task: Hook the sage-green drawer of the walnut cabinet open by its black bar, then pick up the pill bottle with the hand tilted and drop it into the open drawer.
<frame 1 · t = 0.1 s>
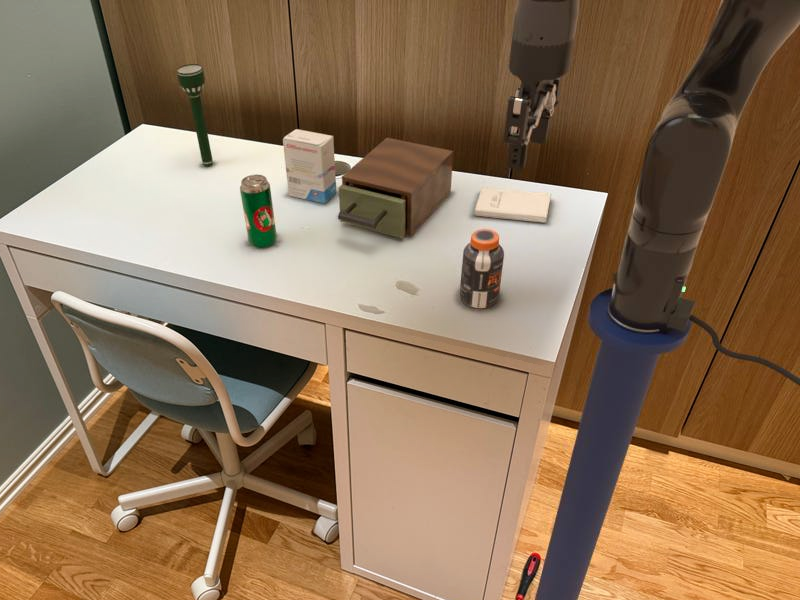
hand: (527, 154, 99), 21 cm above the table, tool pointing down, fingers open, 8 cm apart
soda can: (263, 242, 127), on the table
flashlight: (208, 165, 150), on the table
cabinet: (398, 206, 132), on the table
hard drive: (512, 209, 129), on the table
drawer: (384, 198, 126), point 4 cm above the table, slide at 1.0 cm
ink box: (312, 195, 138), on the table
pill bottle: (478, 298, 111), on the table
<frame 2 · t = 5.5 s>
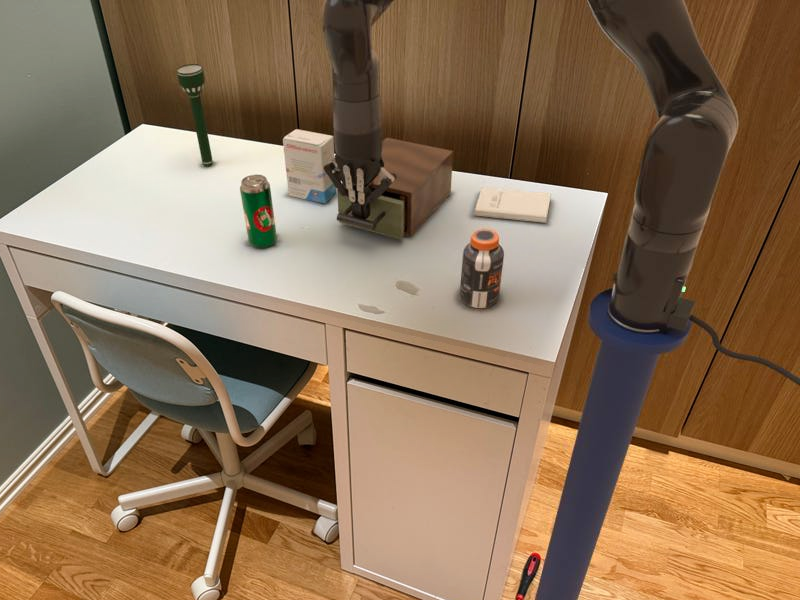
hand: (361, 219, 121), 5 cm above the table, tool pointing down, fingers closed
drawer: (383, 199, 126), point 4 cm above the table, slide at 1.5 cm, touching gripper
everything else where it was.
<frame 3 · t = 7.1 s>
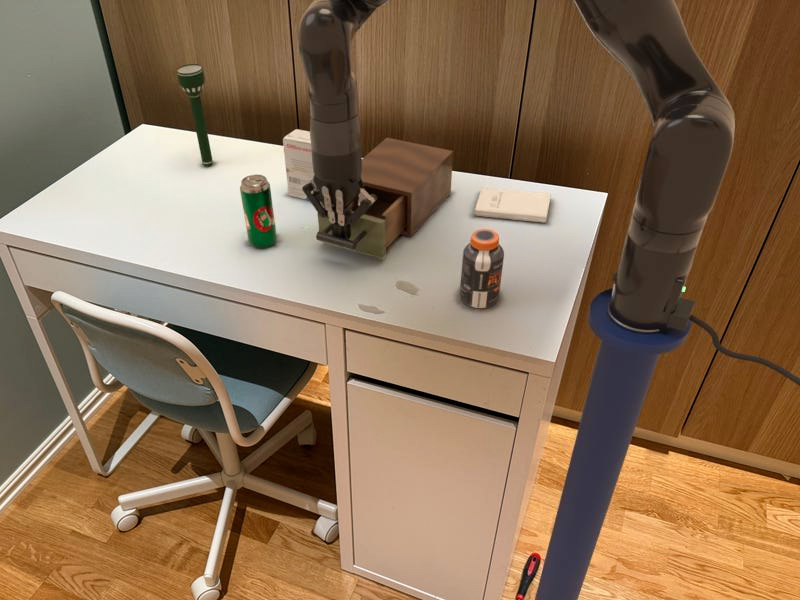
hand: (341, 240, 118), 4 cm above the table, tool pointing down, fingers closed
drawer: (365, 217, 122), point 4 cm above the table, slide at 8.0 cm, touching gripper
everything else where it was.
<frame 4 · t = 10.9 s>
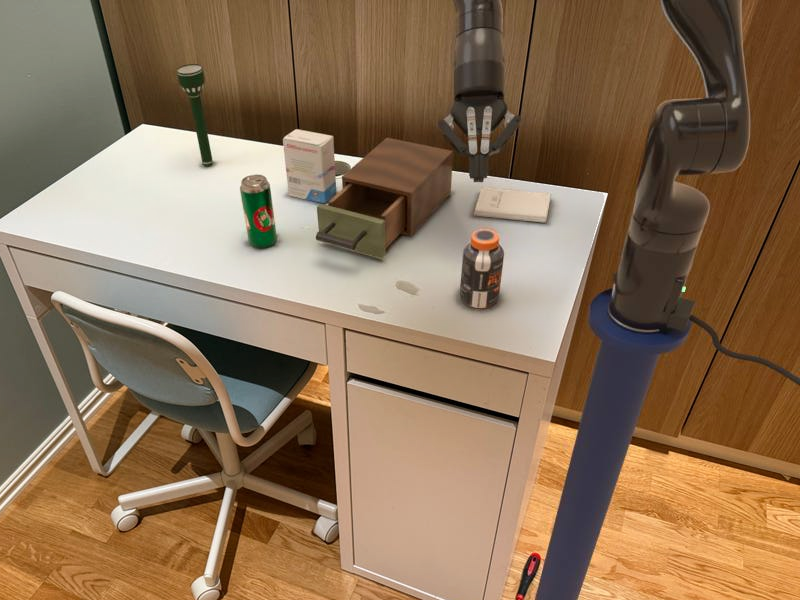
hand: (478, 181, 109), 14 cm above the table, tool tilted 45°, fingers closed
drawer: (364, 217, 122), point 4 cm above the table, slide at 8.1 cm
everything else where it was.
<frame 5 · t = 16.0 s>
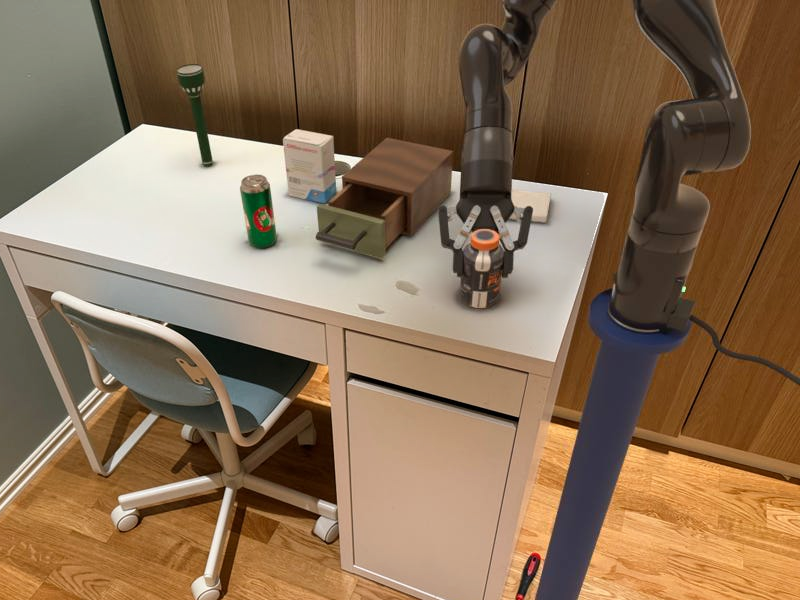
hand: (481, 276, 106), 5 cm above the table, tool tilted 45°, fingers closed on pill bottle, 6 cm apart
pill bottle: (478, 298, 111), on the table, touching gripper
everything else where it was.
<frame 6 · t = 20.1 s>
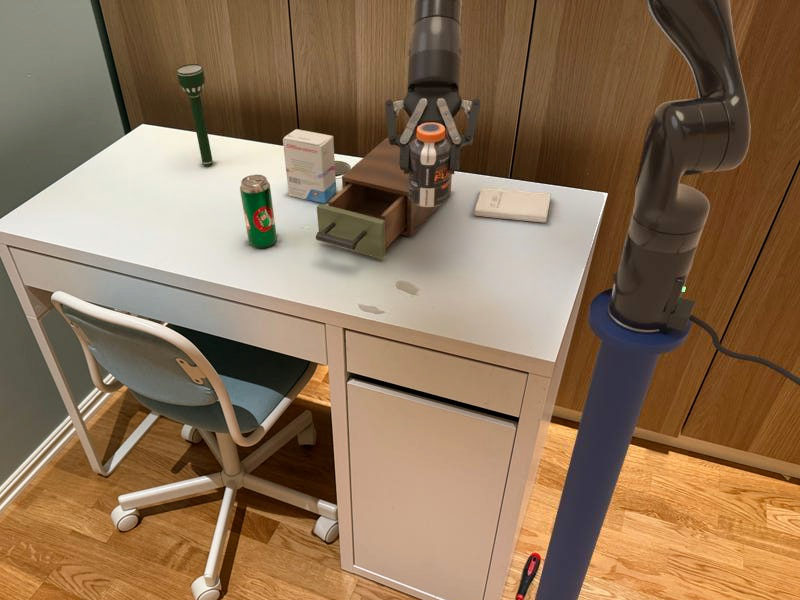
hand: (428, 172, 104), 18 cm above the table, tool tilted 45°, fingers closed on pill bottle, 6 cm apart
pill bottle: (428, 199, 109), point 13 cm above the table, touching gripper
everything else where it was.
when the fingers open (10 cm above the table, at t = 24.5 s): pill bottle drops 3 cm, resting on drawer.
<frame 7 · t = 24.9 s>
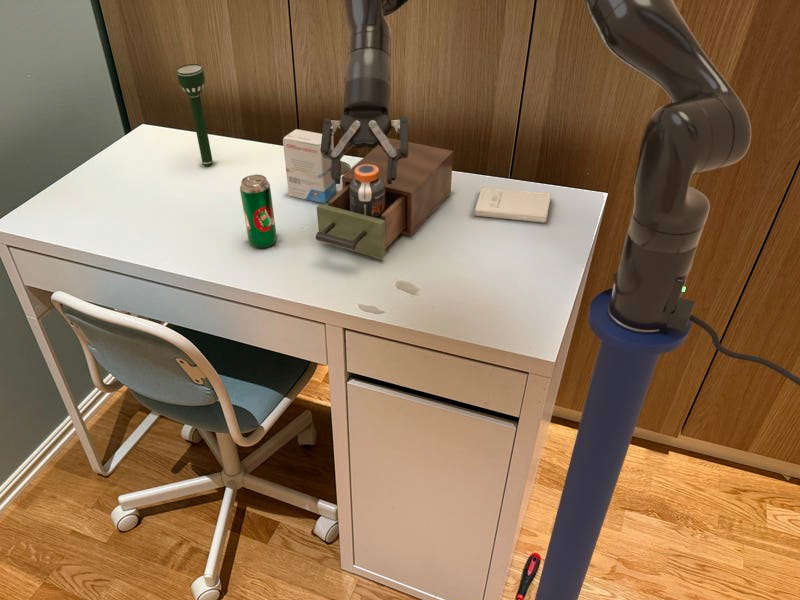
hand: (363, 182, 116), 12 cm above the table, tool tilted 45°, fingers open, 8 cm apart
drawer: (364, 217, 122), point 4 cm above the table, slide at 8.1 cm, touching pill bottle
pill bottle: (368, 229, 124), point 2 cm above the table, touching drawer
everything else where it was.
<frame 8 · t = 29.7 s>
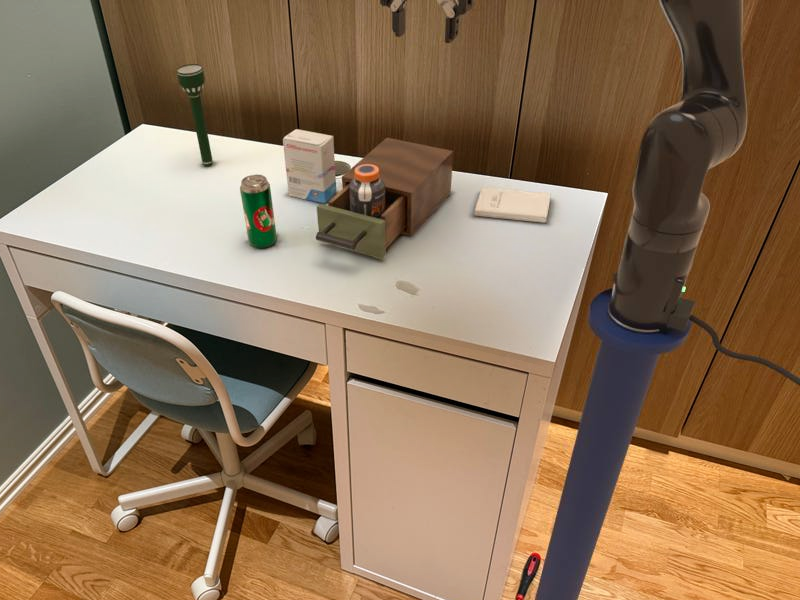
hand: (424, 38, 111), 30 cm above the table, tool pointing down, fingers open, 8 cm apart
nothing on the table moved.
at the end: drawer slide at 8.1 cm; pill bottle inside the target area in the drawer (0.5 cm from its centre), point 1.8 cm above the cabinet's base; the gripper is holding nothing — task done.
